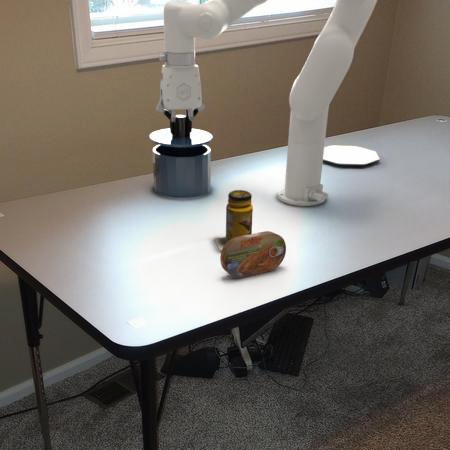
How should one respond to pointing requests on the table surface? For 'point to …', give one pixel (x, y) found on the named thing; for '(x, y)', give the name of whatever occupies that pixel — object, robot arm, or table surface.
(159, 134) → the lid
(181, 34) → the robot arm
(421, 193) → the table surface
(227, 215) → the condiment
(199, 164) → the pot
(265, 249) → the tin
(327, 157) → the plate
